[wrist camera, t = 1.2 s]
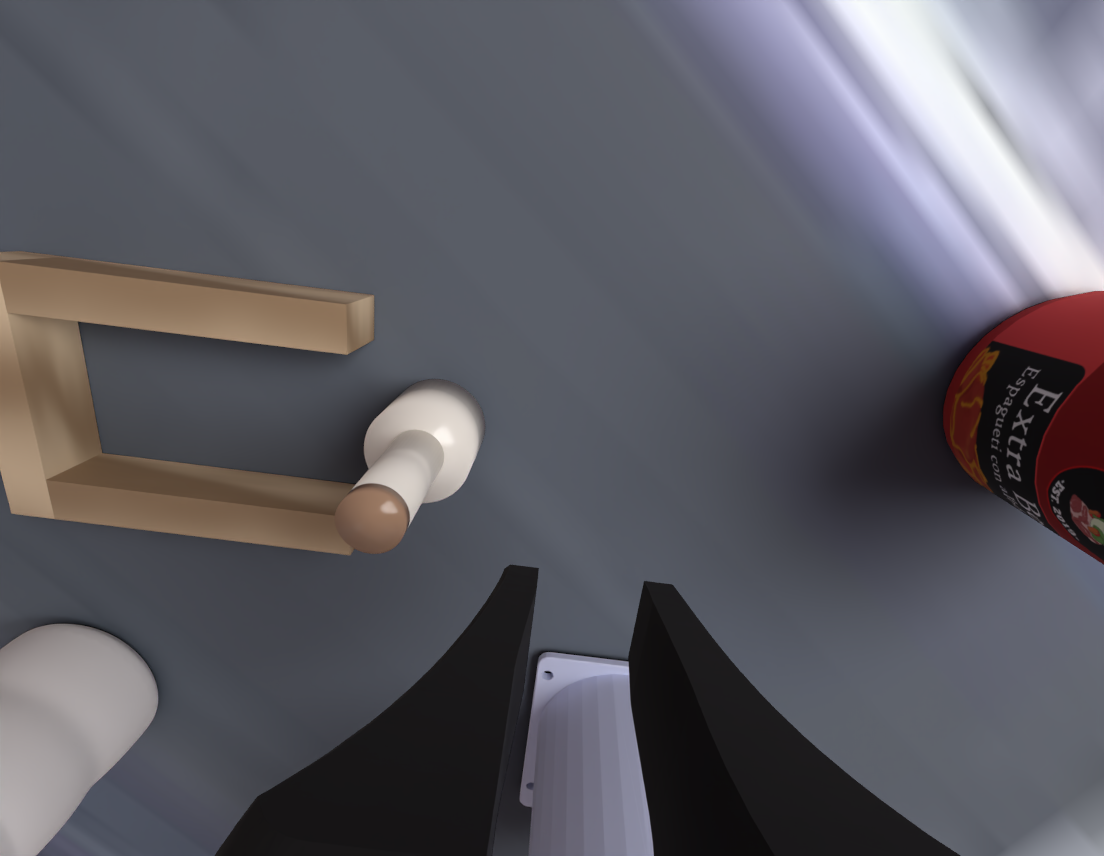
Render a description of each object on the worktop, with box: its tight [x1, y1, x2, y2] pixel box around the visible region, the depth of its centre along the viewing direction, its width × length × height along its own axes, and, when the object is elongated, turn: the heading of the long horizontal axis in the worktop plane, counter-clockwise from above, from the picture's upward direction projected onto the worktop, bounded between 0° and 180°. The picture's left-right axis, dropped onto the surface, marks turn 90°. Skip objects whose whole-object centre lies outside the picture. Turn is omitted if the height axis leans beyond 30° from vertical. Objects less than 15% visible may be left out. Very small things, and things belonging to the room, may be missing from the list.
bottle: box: [335, 379, 485, 554], centre depth 17 cm, size 4×4×8 cm
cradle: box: [0, 251, 374, 555], centre depth 20 cm, size 9×13×2 cm
